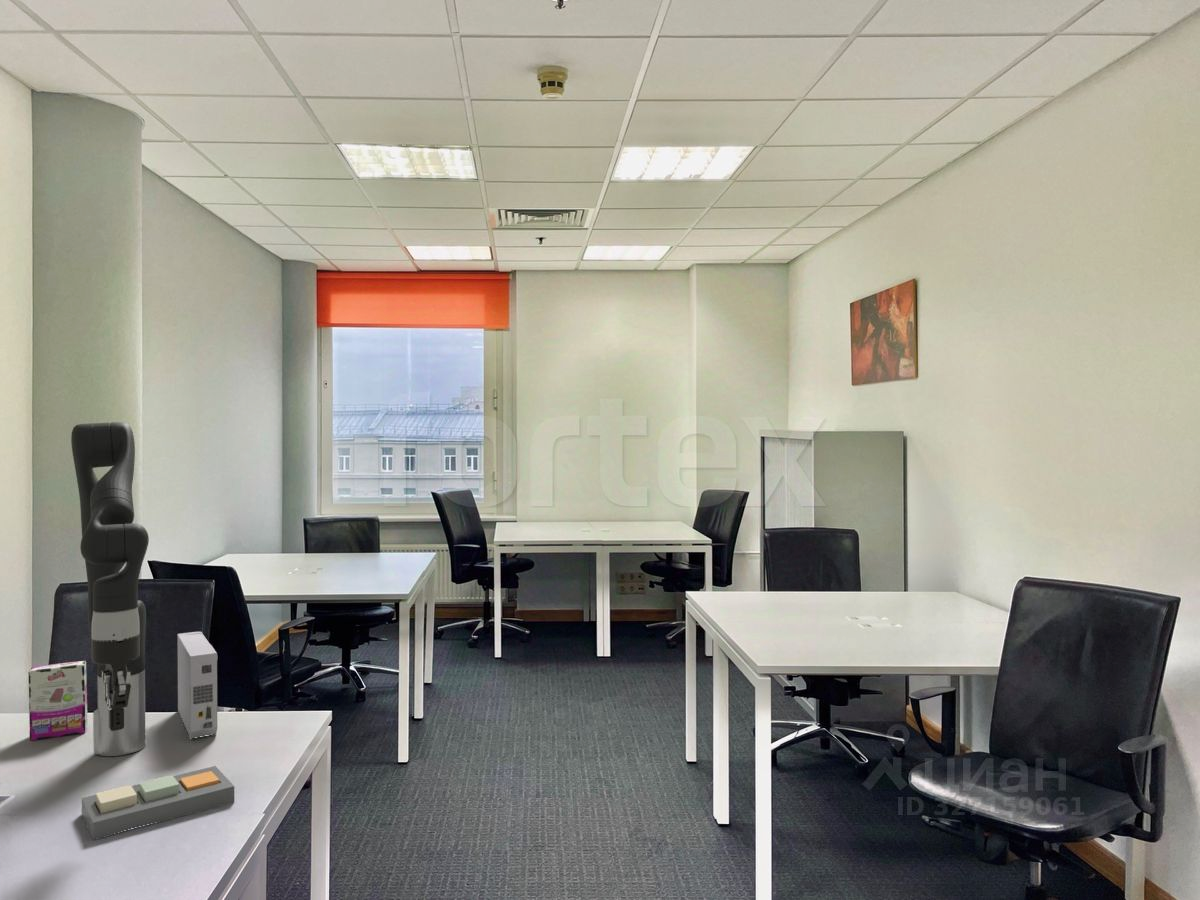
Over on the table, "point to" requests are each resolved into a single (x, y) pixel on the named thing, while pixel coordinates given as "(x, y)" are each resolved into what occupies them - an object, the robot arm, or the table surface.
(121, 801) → the beige key
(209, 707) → the game console
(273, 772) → the table surface
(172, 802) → the keypad
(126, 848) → the table surface
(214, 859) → the table surface
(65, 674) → the candy bar box
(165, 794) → the sage key
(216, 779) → the orange key
